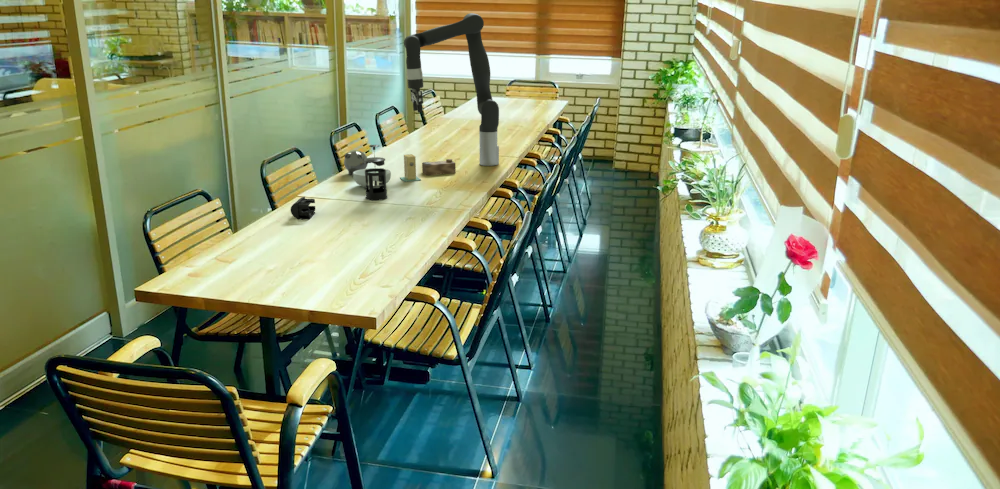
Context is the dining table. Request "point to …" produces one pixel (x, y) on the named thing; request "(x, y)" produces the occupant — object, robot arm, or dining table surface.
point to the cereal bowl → (361, 180)
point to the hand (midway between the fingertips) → (417, 111)
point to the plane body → (438, 167)
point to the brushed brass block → (410, 167)
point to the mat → (409, 180)
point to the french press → (372, 192)
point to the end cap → (303, 208)
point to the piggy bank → (355, 161)
